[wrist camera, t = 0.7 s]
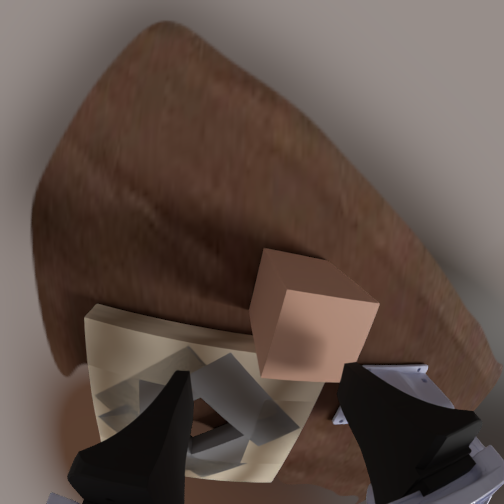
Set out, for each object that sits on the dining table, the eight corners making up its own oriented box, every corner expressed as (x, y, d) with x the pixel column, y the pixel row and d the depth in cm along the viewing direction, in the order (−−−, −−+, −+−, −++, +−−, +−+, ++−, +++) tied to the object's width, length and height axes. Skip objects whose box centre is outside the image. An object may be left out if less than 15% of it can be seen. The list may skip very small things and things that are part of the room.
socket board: (324, 343, 23) (334, 360, 20) (268, 466, 27) (271, 482, 24) (96, 303, 20) (84, 317, 18) (110, 442, 24) (105, 457, 22)
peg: (328, 260, 21) (379, 303, 13) (310, 320, 22) (346, 382, 14) (263, 247, 20) (286, 289, 12) (248, 311, 21) (260, 377, 13)
